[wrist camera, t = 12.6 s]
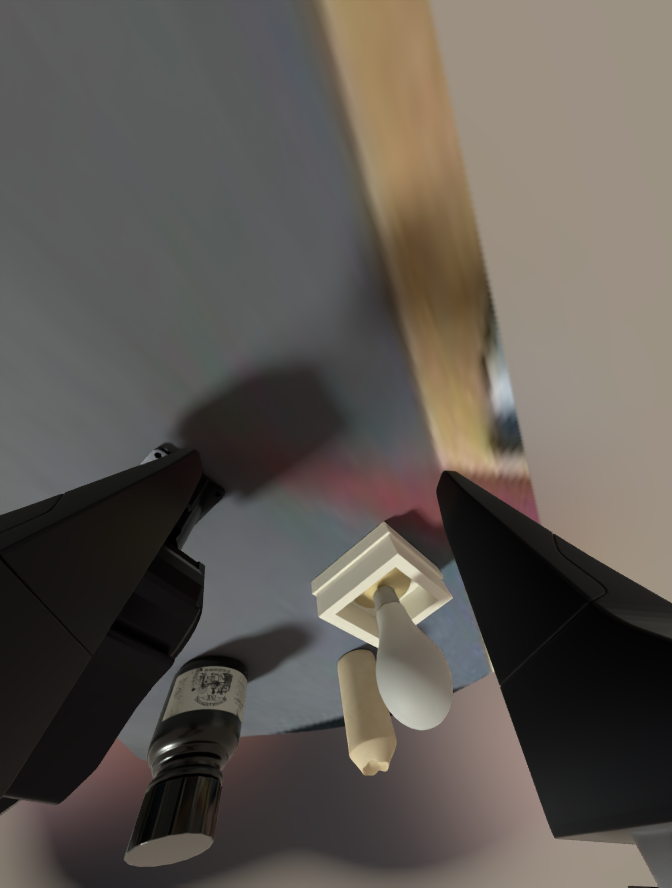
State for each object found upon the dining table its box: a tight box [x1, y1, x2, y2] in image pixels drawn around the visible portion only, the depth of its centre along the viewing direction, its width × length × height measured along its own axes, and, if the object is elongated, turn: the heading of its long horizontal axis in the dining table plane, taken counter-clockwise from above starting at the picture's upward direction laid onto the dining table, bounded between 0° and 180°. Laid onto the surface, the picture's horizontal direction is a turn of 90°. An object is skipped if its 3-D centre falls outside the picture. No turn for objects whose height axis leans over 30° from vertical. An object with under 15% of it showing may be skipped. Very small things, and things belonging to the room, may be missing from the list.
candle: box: [338, 649, 397, 775], centre depth 31 cm, size 6×6×10 cm
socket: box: [311, 522, 453, 648], centre depth 28 cm, size 11×11×4 cm
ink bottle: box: [124, 658, 248, 867], centre depth 26 cm, size 10×9×12 cm
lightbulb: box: [373, 586, 453, 730], centre depth 23 cm, size 6×6×11 cm
